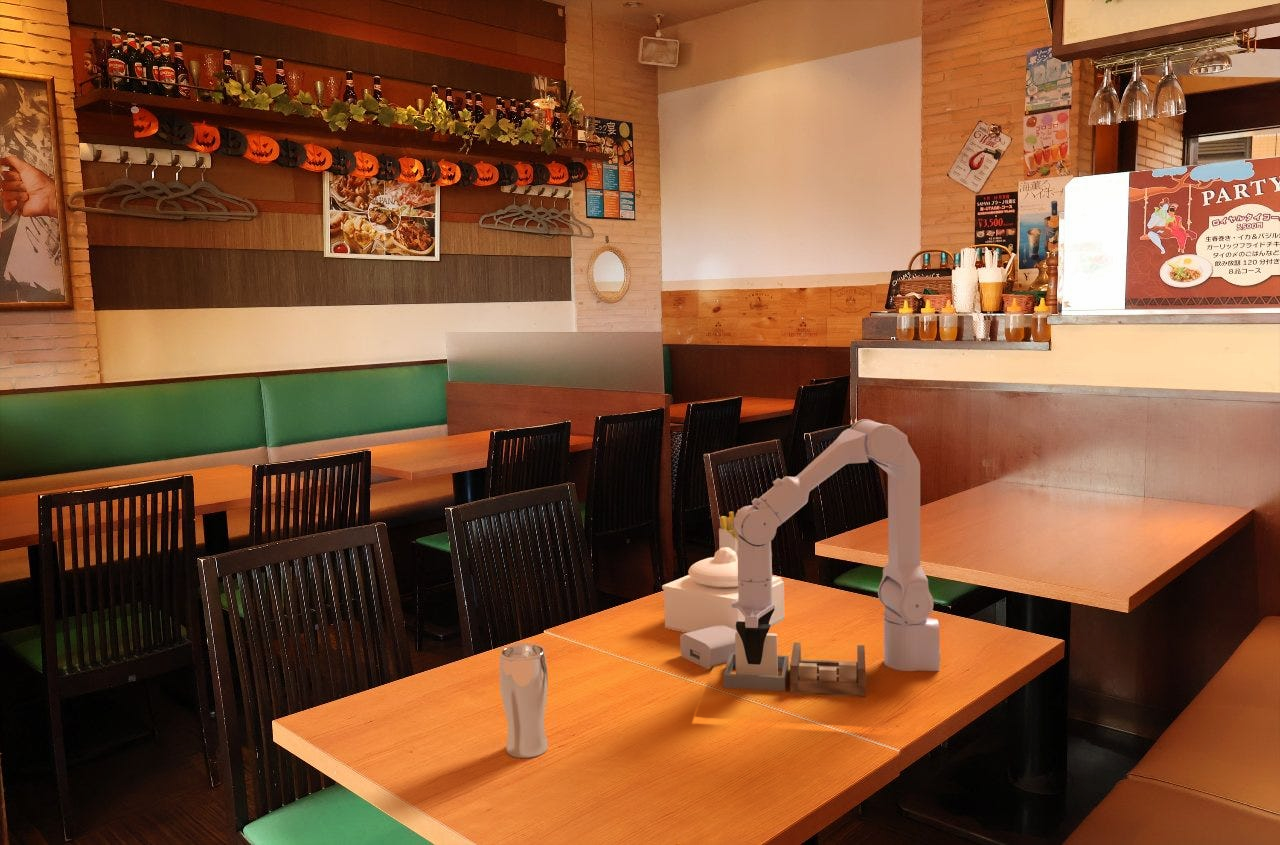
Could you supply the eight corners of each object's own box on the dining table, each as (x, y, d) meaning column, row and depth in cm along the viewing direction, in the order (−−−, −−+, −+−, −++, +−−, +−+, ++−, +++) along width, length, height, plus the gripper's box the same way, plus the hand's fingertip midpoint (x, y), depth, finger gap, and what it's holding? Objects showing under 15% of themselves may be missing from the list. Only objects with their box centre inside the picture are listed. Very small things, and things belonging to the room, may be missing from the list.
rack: (864, 674, 168) (864, 644, 167) (865, 701, 156) (865, 670, 155) (794, 670, 170) (793, 641, 170) (790, 697, 159) (789, 666, 158)
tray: (788, 672, 170) (788, 655, 169) (785, 695, 160) (784, 677, 159) (730, 669, 172) (730, 653, 171) (723, 692, 162) (722, 674, 161)
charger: (775, 653, 180) (710, 671, 172) (744, 640, 187) (680, 657, 179) (775, 628, 179) (709, 646, 171) (743, 616, 187) (679, 632, 179)
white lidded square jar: (738, 645, 184) (737, 563, 183) (662, 628, 196) (660, 551, 194) (785, 620, 198) (783, 544, 196) (711, 605, 209) (709, 533, 207)
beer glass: (552, 737, 147) (547, 641, 145) (549, 758, 140) (544, 658, 138) (505, 739, 146) (501, 643, 145) (501, 761, 140) (495, 660, 138)
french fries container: (766, 586, 222) (764, 508, 220) (736, 597, 214) (734, 517, 212) (750, 582, 225) (748, 506, 223) (720, 593, 218) (718, 514, 215)
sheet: (777, 678, 165) (777, 633, 164) (777, 681, 164) (776, 635, 163) (736, 676, 167) (735, 631, 166) (736, 679, 166) (735, 634, 165)
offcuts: (856, 688, 159) (856, 662, 159) (856, 692, 158) (856, 665, 157) (799, 685, 161) (799, 659, 161) (799, 689, 160) (799, 663, 159)
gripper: (736, 565, 171) (737, 640, 173) (725, 589, 157) (727, 670, 159) (776, 566, 170) (777, 641, 171) (769, 590, 156) (771, 672, 157)
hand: (756, 655), depth 165 cm, fingers open, 7 cm apart
